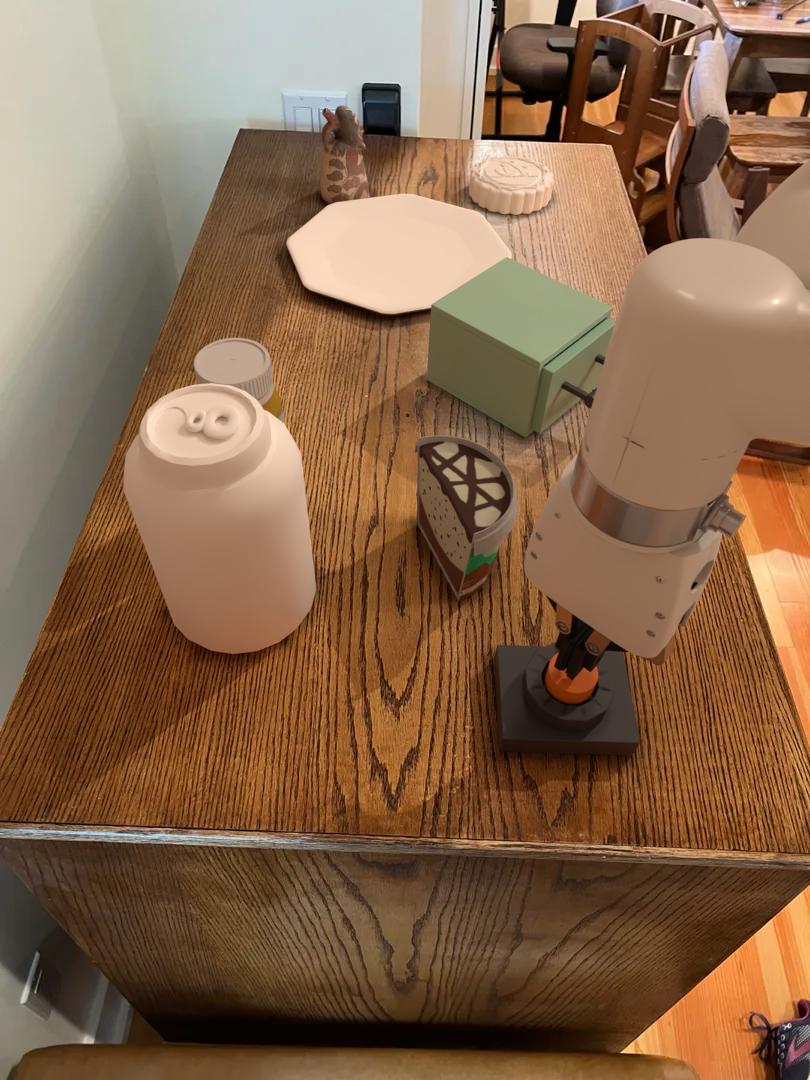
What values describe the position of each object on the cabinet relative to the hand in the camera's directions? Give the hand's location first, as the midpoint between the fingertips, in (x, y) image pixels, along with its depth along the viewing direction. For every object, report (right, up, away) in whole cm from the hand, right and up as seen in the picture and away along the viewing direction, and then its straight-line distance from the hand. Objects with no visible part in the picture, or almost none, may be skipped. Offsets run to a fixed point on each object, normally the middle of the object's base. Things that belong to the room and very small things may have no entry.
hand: (575, 660), depth 55 cm
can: (-26, +4, +11) cm, 29 cm away
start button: (0, -2, +2) cm, 3 cm away
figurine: (-21, +58, +57) cm, 84 cm away
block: (0, -4, +5) cm, 7 cm away
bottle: (-27, +14, +19) cm, 36 cm away
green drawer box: (0, +26, +30) cm, 40 cm away
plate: (-13, +46, +46) cm, 66 cm away
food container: (-6, +7, +15) cm, 18 cm away
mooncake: (+3, +59, +58) cm, 83 cm away
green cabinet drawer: (+2, +25, +28) cm, 38 cm away
